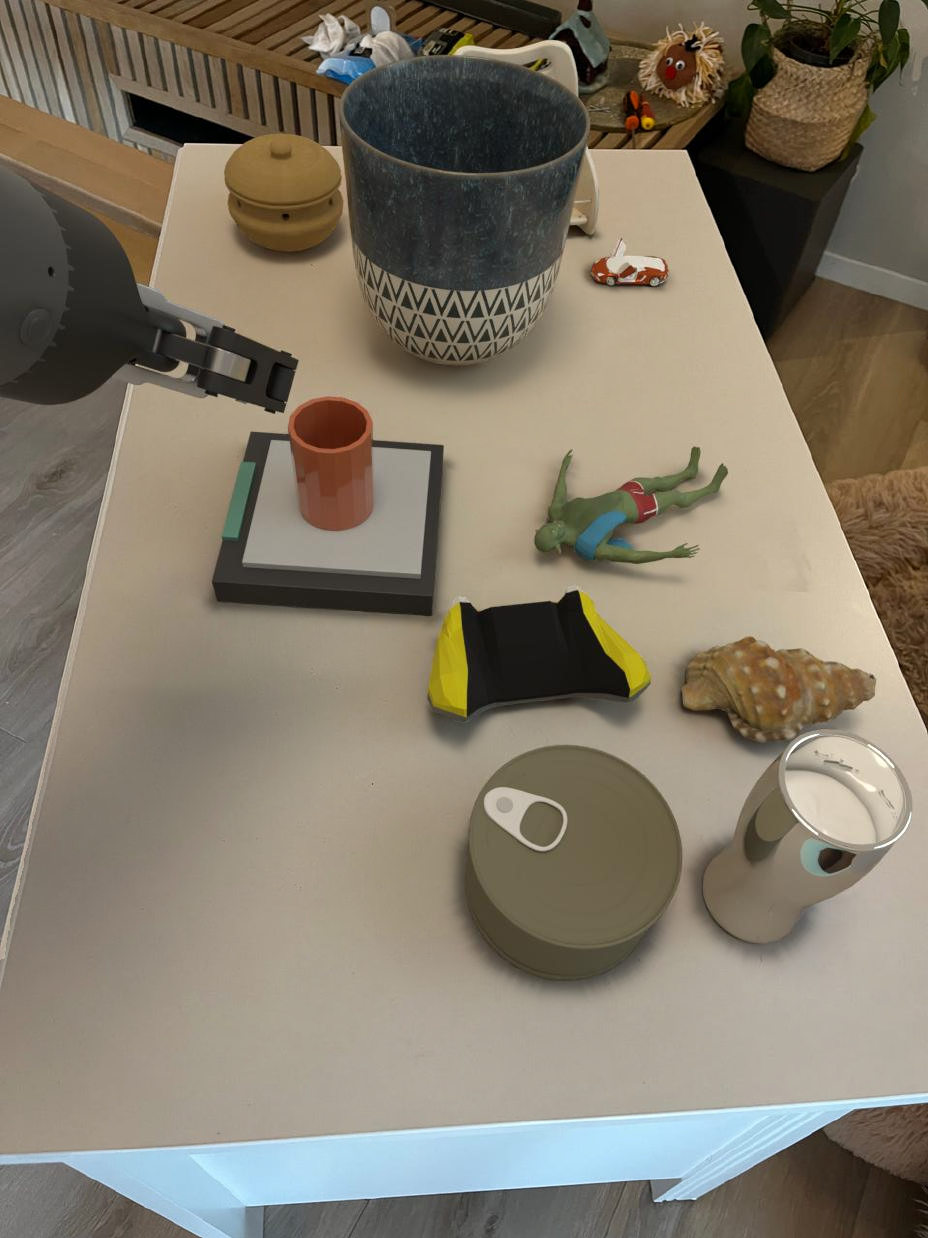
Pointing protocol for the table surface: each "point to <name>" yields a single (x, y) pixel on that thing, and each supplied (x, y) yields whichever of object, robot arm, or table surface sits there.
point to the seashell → (772, 688)
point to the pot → (284, 191)
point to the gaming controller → (530, 657)
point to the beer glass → (806, 833)
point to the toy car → (629, 268)
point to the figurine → (618, 515)
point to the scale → (332, 535)
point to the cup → (332, 462)
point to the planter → (459, 199)
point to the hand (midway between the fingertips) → (205, 360)
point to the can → (569, 861)
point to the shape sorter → (566, 74)
